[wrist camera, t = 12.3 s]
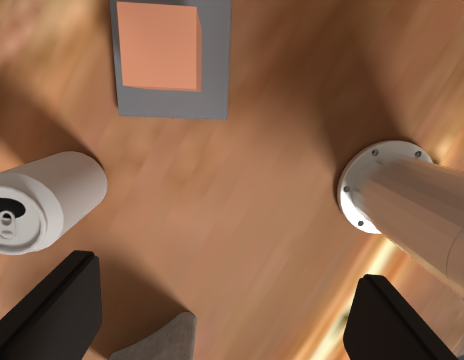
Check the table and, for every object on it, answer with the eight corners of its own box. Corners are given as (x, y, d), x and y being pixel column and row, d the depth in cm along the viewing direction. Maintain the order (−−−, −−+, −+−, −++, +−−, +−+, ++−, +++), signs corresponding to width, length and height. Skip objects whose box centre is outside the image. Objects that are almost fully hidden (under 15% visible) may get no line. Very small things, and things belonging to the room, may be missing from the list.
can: (108, 151, 31) (45, 181, 20) (112, 208, 34) (57, 265, 22) (43, 147, 31) (-60, 175, 19) (51, 205, 33) (-38, 262, 22)
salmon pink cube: (201, 30, 27) (196, 6, 20) (201, 91, 28) (196, 88, 22) (142, 26, 26) (116, 1, 20) (145, 89, 28) (122, 85, 21)
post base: (230, 2, 27) (234, -26, 21) (226, 119, 31) (228, 123, 25) (114, -5, 27) (82, -37, 21) (123, 115, 30) (99, 118, 24)
